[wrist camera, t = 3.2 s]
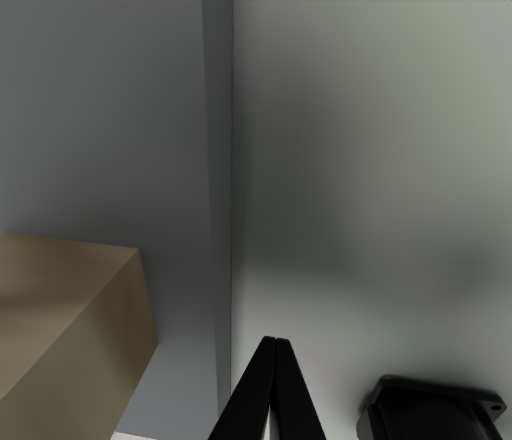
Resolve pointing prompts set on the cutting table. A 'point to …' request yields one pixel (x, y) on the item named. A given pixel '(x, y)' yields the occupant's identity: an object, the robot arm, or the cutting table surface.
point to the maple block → (70, 336)
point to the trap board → (132, 172)
